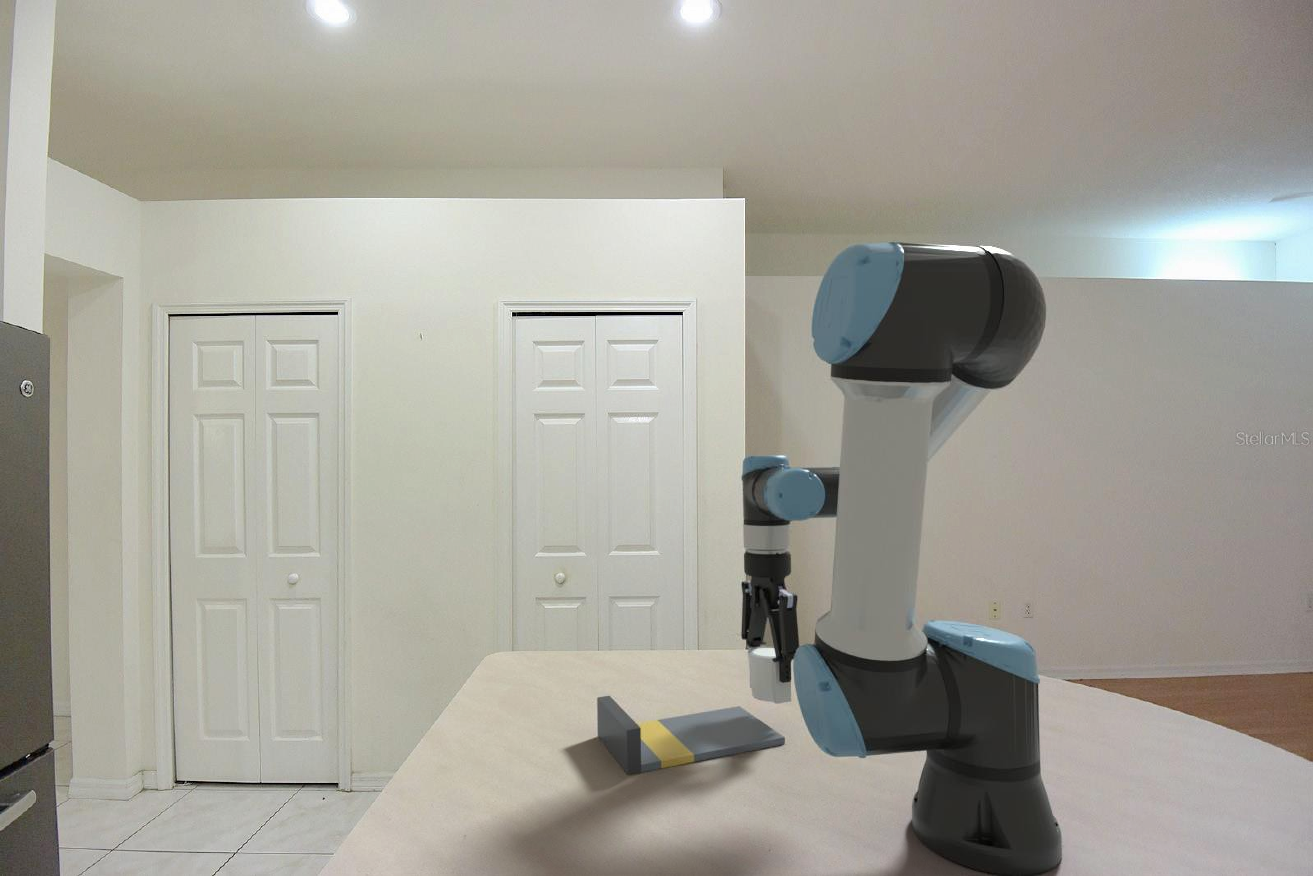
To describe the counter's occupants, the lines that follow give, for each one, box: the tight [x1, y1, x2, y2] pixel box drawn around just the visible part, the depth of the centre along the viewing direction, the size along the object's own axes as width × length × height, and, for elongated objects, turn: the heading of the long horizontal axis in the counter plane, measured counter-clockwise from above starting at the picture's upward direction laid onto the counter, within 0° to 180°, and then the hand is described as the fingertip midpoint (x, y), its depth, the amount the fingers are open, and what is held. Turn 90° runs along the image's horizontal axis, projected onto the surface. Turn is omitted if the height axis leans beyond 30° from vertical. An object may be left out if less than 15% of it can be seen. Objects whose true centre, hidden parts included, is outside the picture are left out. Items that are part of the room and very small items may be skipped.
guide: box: [596, 695, 786, 775], centre depth 103 cm, size 14×25×6 cm, turn 112°
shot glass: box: [747, 646, 776, 703], centre depth 109 cm, size 7×7×7 cm
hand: (769, 693), depth 109 cm, fingers closed on shot glass, 7 cm apart
